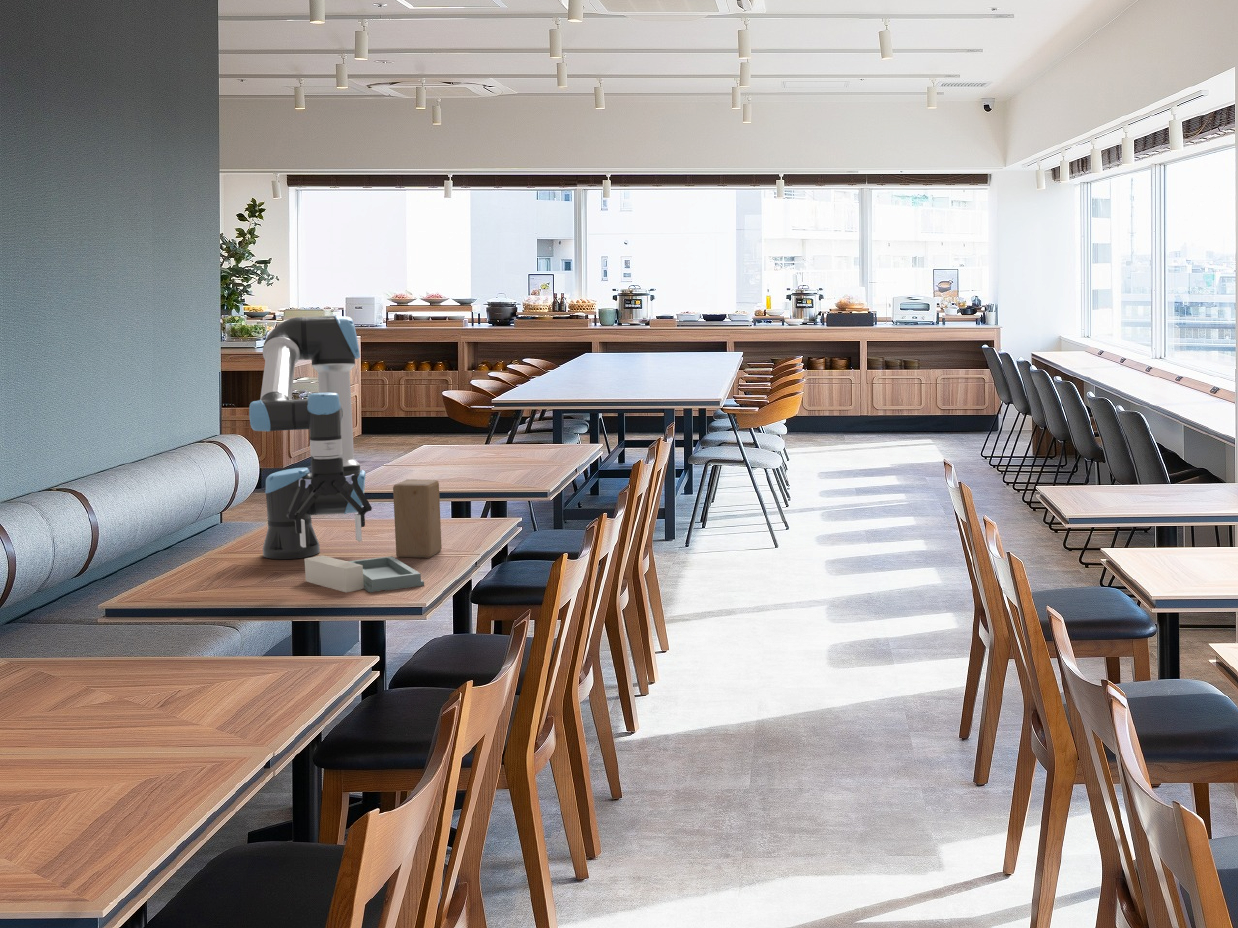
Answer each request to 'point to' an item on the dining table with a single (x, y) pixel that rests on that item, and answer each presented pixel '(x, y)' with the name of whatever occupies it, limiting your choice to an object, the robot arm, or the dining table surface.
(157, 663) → the dining table surface
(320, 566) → the cream rectangular bar
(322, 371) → the robot arm
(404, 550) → the wooden block
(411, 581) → the tray
